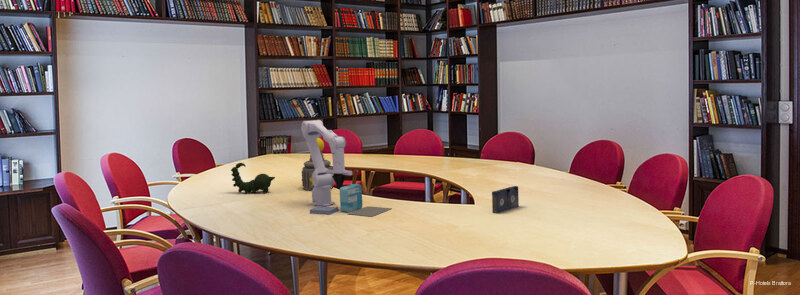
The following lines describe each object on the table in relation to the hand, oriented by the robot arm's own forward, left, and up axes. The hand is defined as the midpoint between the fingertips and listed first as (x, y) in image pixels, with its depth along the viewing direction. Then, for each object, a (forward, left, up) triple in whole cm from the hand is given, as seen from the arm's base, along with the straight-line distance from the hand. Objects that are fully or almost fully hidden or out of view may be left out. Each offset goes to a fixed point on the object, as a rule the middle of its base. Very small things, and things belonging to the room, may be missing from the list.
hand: (339, 189), depth 307 cm
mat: (+17, 0, -10) cm, 20 cm away
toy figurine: (-74, +18, -10) cm, 76 cm away
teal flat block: (+6, 0, -10) cm, 12 cm away
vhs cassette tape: (+75, +27, -10) cm, 81 cm away
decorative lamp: (-47, +43, -10) cm, 64 cm away
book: (-4, -9, -10) cm, 14 cm away
